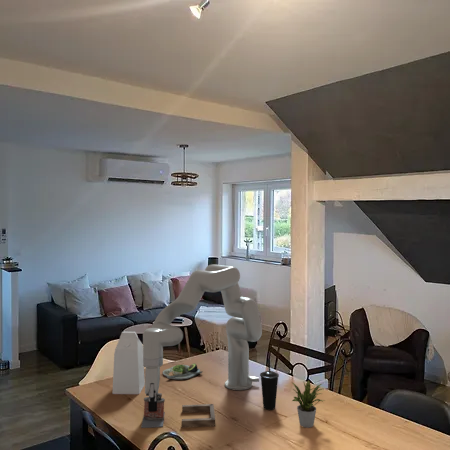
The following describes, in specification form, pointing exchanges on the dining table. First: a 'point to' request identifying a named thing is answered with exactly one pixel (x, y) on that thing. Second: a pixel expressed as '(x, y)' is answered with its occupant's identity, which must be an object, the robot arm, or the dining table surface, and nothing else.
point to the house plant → (307, 405)
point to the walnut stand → (200, 421)
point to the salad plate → (182, 372)
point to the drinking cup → (269, 388)
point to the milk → (128, 365)
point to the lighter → (160, 408)
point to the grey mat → (151, 423)
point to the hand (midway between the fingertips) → (153, 407)
